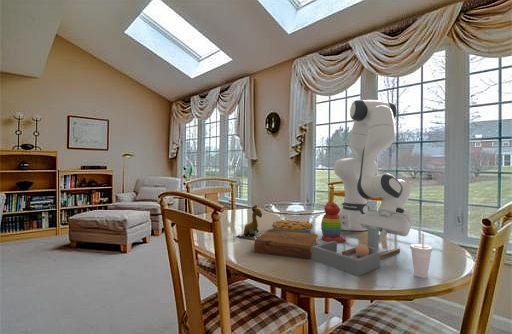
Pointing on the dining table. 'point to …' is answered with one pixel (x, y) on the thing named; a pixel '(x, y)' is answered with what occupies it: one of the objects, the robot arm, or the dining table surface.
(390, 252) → the lane
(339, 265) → the grey walled tray
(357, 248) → the ball
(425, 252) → the smoothie
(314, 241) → the diary
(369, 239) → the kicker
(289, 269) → the dining table surface
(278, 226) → the pie
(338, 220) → the stacking bear
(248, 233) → the stuffed giraffe
